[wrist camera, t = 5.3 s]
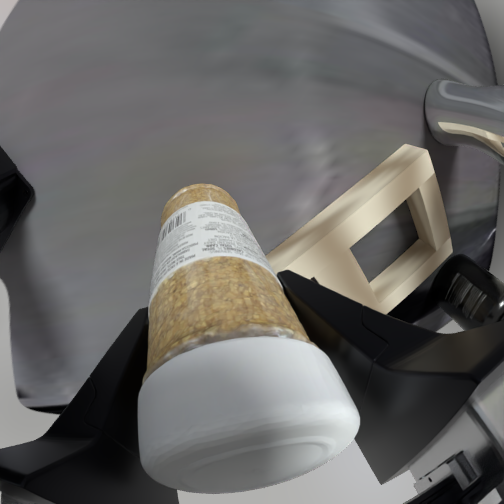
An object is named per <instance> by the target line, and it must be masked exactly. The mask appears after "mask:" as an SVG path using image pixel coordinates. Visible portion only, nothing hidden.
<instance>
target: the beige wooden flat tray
mask: <svg viewBox="0 0 504 504" xmlns="http://www.w3.org/2000/svg"><path fill="white" fill-rule="evenodd" d="M405 200H406V201H407V204H408V206H409V209H410V212H411V215H412V218H413V221H414V224H415V227H416V230H417V233H418V237H419V239H418V240H417V241H416V242H415V243H414V244H413V245H412V246H411V247H410V248H409V249H408V250H406V251H405V252H404V253H403V254H402V255H401V256H400V257H399V258H398V259H396V260H395V261H394V262H393V263H392V264H391V265H390V266H389V267H387V268H386V269H385V270H384V271H383V272H382V273H381V274H379V275H378V276H377V277H376V278H375V279H373V280H372V281H371V282H370V283H368V281H367V279H366V277H365V275H364V274H363V272H362V270H361V268H360V266H359V265H358V263H357V261H356V259H355V257H354V256H353V254H352V252H351V251H350V249H349V248H350V247H351V246H352V245H354V244H355V243H356V242H357V241H358V240H360V239H361V238H362V237H363V236H364V235H366V234H367V233H368V232H369V231H370V230H371V229H373V228H374V227H375V226H376V225H377V224H378V223H380V222H381V221H382V220H383V219H384V218H385V217H387V216H388V215H389V214H390V213H391V212H392V211H393V210H395V209H396V208H397V207H398V206H399V205H400V204H401V203H402V202H404V201H405ZM452 252H453V250H452V244H451V238H450V233H449V228H448V223H447V218H446V213H445V209H444V205H443V201H442V197H441V193H440V189H439V185H438V182H437V178H436V175H435V172H434V168H433V165H432V162H431V159H430V156H429V153H428V150H426V149H422V148H419V147H415V146H412V145H408V144H404V145H403V146H402V147H401V148H399V149H398V150H397V151H396V152H394V153H393V154H392V155H391V156H390V157H388V158H387V159H386V160H385V161H383V162H382V163H381V164H380V165H379V166H377V167H376V168H375V169H374V170H372V171H371V172H370V173H369V174H367V175H366V176H365V177H364V178H363V179H361V180H360V181H359V182H358V183H356V184H355V185H354V186H353V187H351V188H350V189H349V190H348V191H346V192H345V193H344V194H343V195H341V196H340V197H339V198H338V199H336V200H335V201H334V202H333V203H332V204H330V205H329V206H328V207H327V208H325V209H324V210H323V211H322V212H320V213H319V214H318V215H317V216H315V217H314V218H313V219H312V220H310V221H309V222H308V223H307V224H305V225H304V226H303V227H301V228H300V229H299V230H298V231H296V232H295V233H294V234H293V235H291V236H290V237H289V238H288V239H286V240H285V241H284V242H283V243H281V244H280V245H279V246H278V247H276V248H275V249H274V250H272V251H271V252H270V253H269V254H267V255H266V256H265V257H266V258H267V260H268V262H269V263H270V265H271V267H272V269H273V271H274V272H275V274H276V275H277V273H278V272H280V271H284V270H290V271H293V272H295V273H297V274H299V275H301V276H303V277H305V278H308V279H311V278H313V277H315V279H316V280H317V281H318V282H319V284H320V285H322V286H325V287H327V288H329V289H331V290H333V291H335V292H337V293H340V294H342V295H344V296H346V297H348V298H350V299H352V300H354V301H357V302H359V303H361V304H363V306H364V305H365V306H367V307H370V308H372V309H374V310H376V311H378V312H381V313H383V314H385V315H386V314H387V313H388V312H389V311H391V310H392V309H393V308H394V307H395V306H396V305H398V304H399V303H400V302H401V301H402V300H403V299H404V298H406V297H407V296H408V295H409V294H410V293H411V292H412V291H413V290H414V289H415V288H417V287H418V286H419V285H420V284H421V283H422V282H423V281H424V280H425V279H426V278H427V277H428V276H429V275H430V274H431V273H432V272H433V271H434V270H435V269H436V268H437V267H438V266H439V265H440V264H441V263H442V262H443V261H444V260H445V259H446V258H447V257H448V256H449V255H450V254H451V253H452Z"/></svg>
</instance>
